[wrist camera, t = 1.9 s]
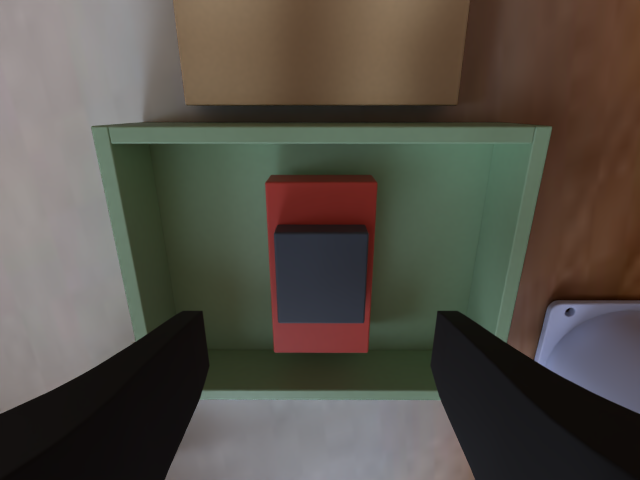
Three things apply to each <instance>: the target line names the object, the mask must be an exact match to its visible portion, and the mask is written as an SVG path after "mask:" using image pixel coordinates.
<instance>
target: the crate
mask: <svg viewBox="0 0 640 480" xmlns="http://www.w3.org/2000/svg"><path fill="white" fill-rule="evenodd" d="M91 129H92V134H93V139H94V143H95V148H96V153H97V158H98V163H99V167H100V172H101V177H102V182H103V187H104V191H105V196H106V201H107V206H108V211H109V215H110V220H111V225H112V230H113V235H114V239H115V244H116V249H117V254H118V259H119V263H120V268H121V273H122V278H123V283H124V287H125V292H126V297H127V302H128V307H129V311H130V316H131V321H132V326H133V331H134V335H135V340H136V341H138V340H139V339H140V338H142V337H143V336H145V335H146V334H148V333H149V332H151V331H152V330H154V329H155V328H157V327H158V326H160V325H161V324H163V323H164V322H166V321H167V320H169V319H170V318H172V317H173V316H175V315H176V314H178V313H180V312H181V311H203V318H204V326H205V333H206V341H207V349H208V357H209V364H210V366H209V370H208V373H207V377H206V381H205V384H204V387H203V391H202V394H201V397H200V399H199V400H441V399H440V397H439V394H438V391H437V387H436V384H435V381H434V377H433V374H432V370H431V366H430V364H431V357H432V349H433V341H434V333H435V325H436V318H437V311H459V312H461V313H462V314H464V315H466V316H467V317H469V318H470V319H472V320H473V321H475V322H476V323H478V324H479V325H481V326H482V327H483V328H485V329H486V330H488V331H489V332H491V333H492V334H494V335H495V336H497V337H498V338H500V339H501V340H503V341H504V342H506V343H507V339H508V335H509V330H510V325H511V320H512V316H513V311H514V306H515V302H516V297H517V292H518V287H519V283H520V278H521V273H522V268H523V264H524V259H525V254H526V249H527V245H528V240H529V235H530V231H531V226H532V221H533V216H534V212H535V207H536V202H537V197H538V193H539V188H540V183H541V179H542V174H543V169H544V164H545V160H546V155H547V150H548V145H549V141H550V136H551V131H552V127H551V126H543V125H529V124H516V123H502V122H140V123H126V124H113V125H100V126H92V127H91ZM271 175H372V176H373V178H374V179H375V180H376V181H377V183H378V186H377V204H376V222H375V240H374V258H373V276H372V295H371V313H370V331H369V349H368V353H275V352H274V344H273V325H272V306H271V287H270V268H269V249H268V230H267V211H266V192H265V182H266V181H267V180H268V178H269V177H270V176H271Z"/></svg>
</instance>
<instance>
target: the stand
mask: <svg viewBox="0 0 640 480" xmlns="http://www.w3.org/2000/svg"><path fill="white" fill-rule="evenodd" d="M173 5H174V13H175V21H176V30H177V38H178V46H179V55H180V63H181V71H182V80H183V88H184V96H185V104H186V105H192V106H451V105H457V104H458V97H459V88H460V80H461V72H462V64H463V56H464V48H465V39H466V31H467V23H468V15H469V7H470V0H173Z"/></svg>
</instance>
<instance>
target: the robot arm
mask: <svg viewBox="0 0 640 480" xmlns="http://www.w3.org/2000/svg"><path fill="white" fill-rule="evenodd" d="M568 308H570V310H569V311H567V312H565V311H566V310H567V309H568ZM209 366H210V364H209V357H208V349H207V341H206V333H205V326H204V318H203V311H181V312H180V313H178V314H176V315H175V316H173V317H172V318H170V319H169V320H167V321H166V322H164V323H163V324H161V325H160V326H158V327H157V328H155V329H154V330H152V331H151V332H149V333H148V334H146V335H145V336H143V337H142V338H140V339H139V340H138V341H136V342H135V343H133V344H132V345H130V346H129V347H127V348H125V349H124V350H122V351H120V352H119V353H117V354H116V355H114V356H112V357H111V358H109V359H108V360H106V361H104V362H103V363H101V364H100V365H98V366H96V367H95V368H93V369H91V370H89V371H88V372H86V373H84V374H82V375H80V376H79V377H77V378H75V379H73V380H71V381H69V382H67V383H65V384H63V385H61V386H60V387H58V388H56V389H54V390H52V391H50V392H48V393H46V394H43V395H41V396H39V397H37V398H35V399H32V400H30V401H28V402H26V403H24V404H21V405H19V406H17V407H15V408H13V409H10V410H8V411H6V412H4V413H2V414H0V480H165V478H166V475H167V473H168V470H169V468H170V465H171V463H172V461H173V459H174V456H175V454H176V452H177V450H178V447H179V445H180V443H181V441H182V438H183V436H184V434H185V431H186V429H187V427H188V425H189V422H190V420H191V418H192V416H193V413H194V411H195V409H196V406H197V404H198V402H199V399H200V397H201V394H202V391H203V387H204V384H205V381H206V377H207V373H208V370H209ZM430 366H431V370H432V374H433V377H434V381H435V384H436V387H437V391H438V394H439V397H440V399H441V402H442V404H443V406H444V409H445V411H446V413H447V416H448V418H449V420H450V422H451V425H452V427H453V429H454V432H455V434H456V436H457V438H458V441H459V443H460V445H461V447H462V450H463V452H464V454H465V456H466V459H467V461H468V463H469V465H470V468H471V470H472V473H473V475H474V478H475V480H640V300H557V301H554V302H552V303H551V304H549V306H548V308H547V311H546V315H545V319H544V323H543V327H542V331H541V335H540V339H539V343H538V347H537V351H536V355H535V359H534V360H532V359H531V358H529V357H527V356H526V355H524V354H523V353H521V352H520V351H518V350H516V349H515V348H513V347H512V346H510V345H509V344H507V343H506V342H504V341H503V340H501V339H500V338H498V337H497V336H495V335H494V334H492V333H491V332H489V331H488V330H486V329H485V328H483V327H482V326H481V325H479V324H478V323H476V322H475V321H473V320H472V319H470V318H469V317H467V316H466V315H464V314H462V313H461V312H459V311H437V318H436V325H435V333H434V341H433V349H432V357H431V364H430Z"/></svg>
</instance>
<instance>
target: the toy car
mask: <svg viewBox="0 0 640 480" xmlns="http://www.w3.org/2000/svg"><path fill="white" fill-rule="evenodd" d="M377 186H378V183H377V181H376V180H375V179H374V178H373V176H372V175H271V176H270V177H269V178H268V180H267V181H266V182H265V192H266V211H267V230H268V249H269V268H270V287H271V306H272V325H273V344H274V352H275V353H368V349H369V331H370V313H371V295H372V276H373V258H374V240H375V222H376V204H377Z"/></svg>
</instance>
